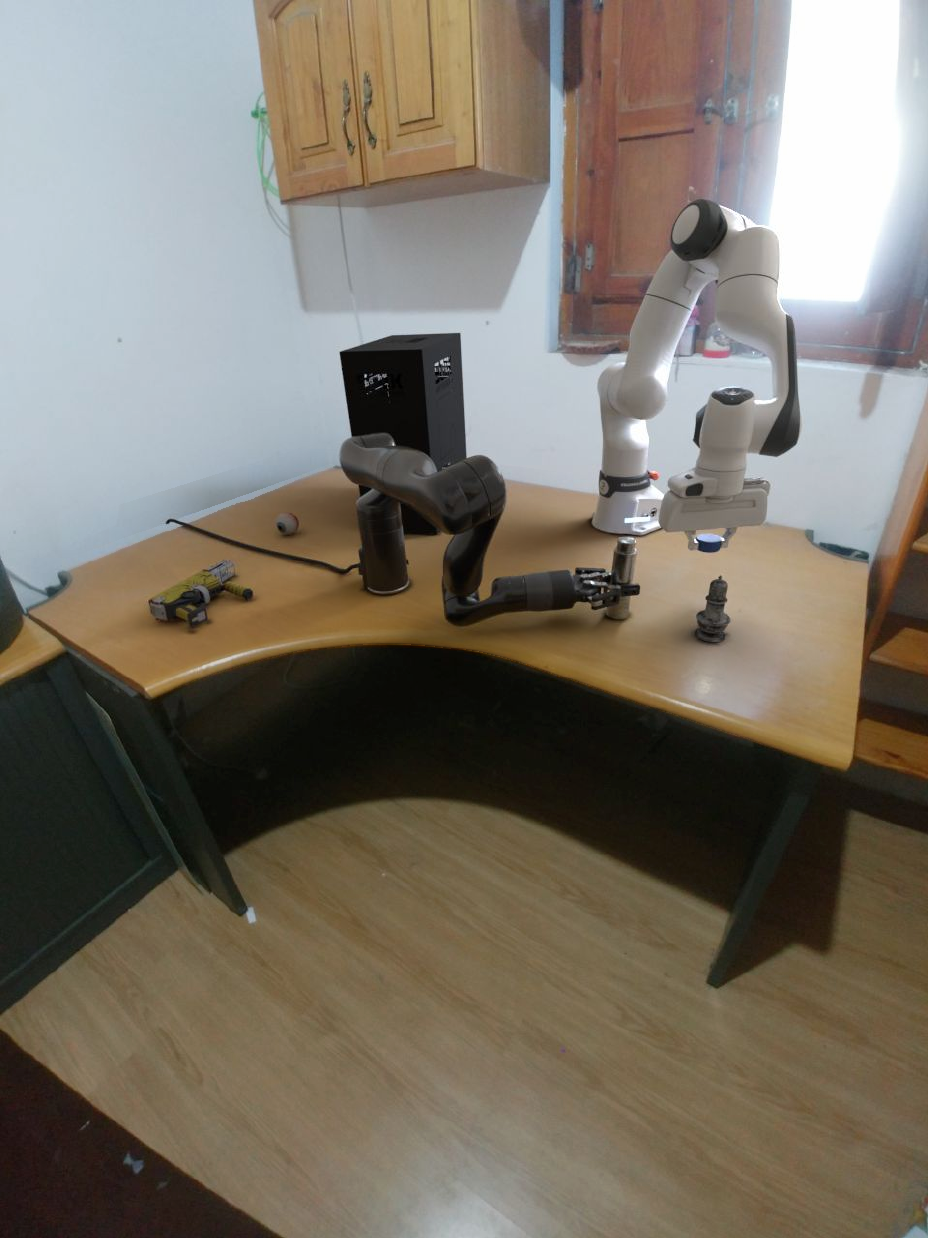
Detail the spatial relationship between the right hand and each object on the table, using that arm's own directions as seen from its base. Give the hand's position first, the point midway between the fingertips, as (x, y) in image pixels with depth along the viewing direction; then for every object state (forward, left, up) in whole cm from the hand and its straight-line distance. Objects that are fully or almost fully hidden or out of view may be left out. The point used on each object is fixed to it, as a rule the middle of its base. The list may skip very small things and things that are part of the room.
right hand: (707, 548), depth 121 cm
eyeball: (+70, -80, -10) cm, 107 cm away
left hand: (+18, +1, -3) cm, 18 cm away
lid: (0, 0, +2) cm, 2 cm away
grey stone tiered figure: (+11, +14, -10) cm, 20 cm away
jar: (+21, 0, -10) cm, 23 cm away
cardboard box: (+32, -79, -10) cm, 86 cm away
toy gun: (+92, -48, -10) cm, 104 cm away
